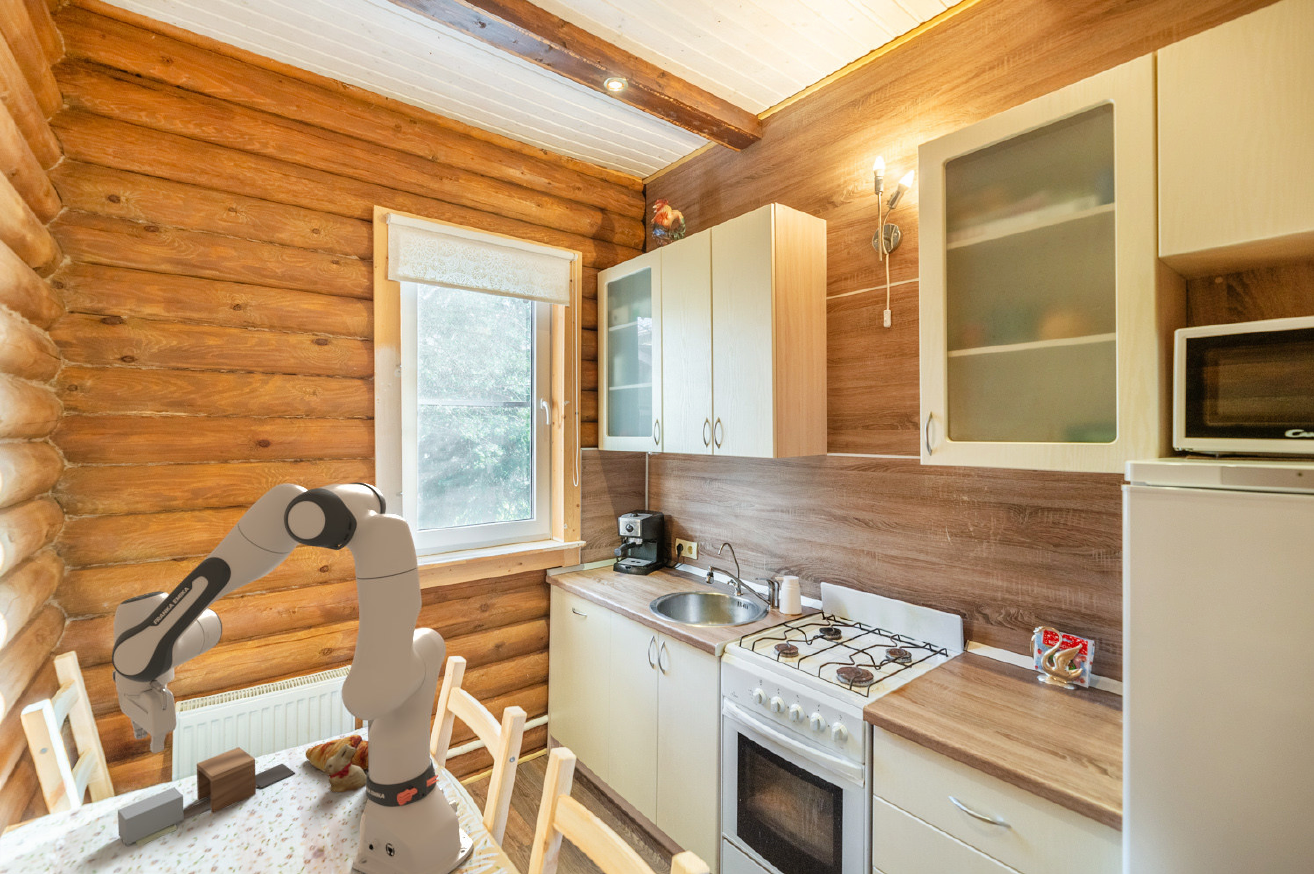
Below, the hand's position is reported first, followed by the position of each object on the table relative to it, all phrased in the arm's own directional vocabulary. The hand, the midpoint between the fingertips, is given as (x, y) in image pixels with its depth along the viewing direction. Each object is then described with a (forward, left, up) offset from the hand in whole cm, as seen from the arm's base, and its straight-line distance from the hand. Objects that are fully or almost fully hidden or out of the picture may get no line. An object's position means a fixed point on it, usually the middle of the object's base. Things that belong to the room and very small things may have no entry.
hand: (149, 744), depth 119 cm
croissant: (-7, -35, -18) cm, 40 cm away
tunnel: (+1, -12, -18) cm, 22 cm away
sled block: (+1, 0, -18) cm, 18 cm away
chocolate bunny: (-17, -30, -18) cm, 39 cm away
